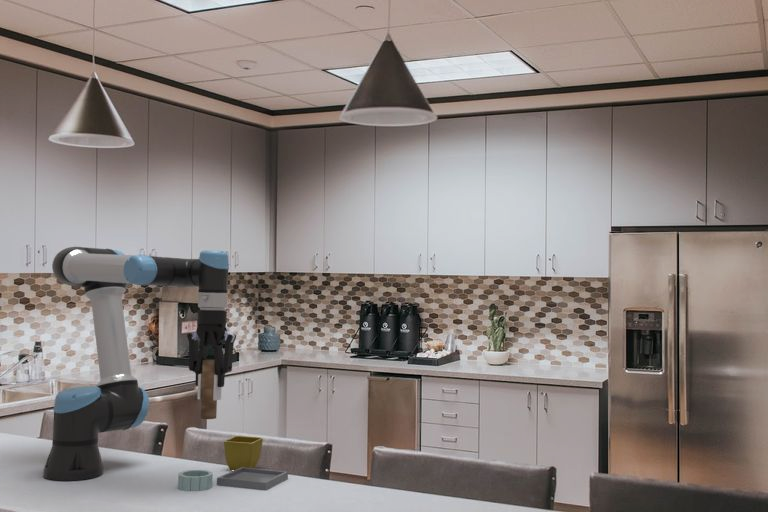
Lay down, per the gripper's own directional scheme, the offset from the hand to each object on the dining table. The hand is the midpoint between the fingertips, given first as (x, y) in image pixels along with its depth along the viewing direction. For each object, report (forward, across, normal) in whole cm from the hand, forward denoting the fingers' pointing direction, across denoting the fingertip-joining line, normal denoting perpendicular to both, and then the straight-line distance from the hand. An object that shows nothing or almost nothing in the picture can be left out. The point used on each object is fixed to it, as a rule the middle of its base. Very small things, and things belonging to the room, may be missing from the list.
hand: (209, 399), depth 201 cm
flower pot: (+23, -2, +23) cm, 33 cm away
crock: (+23, -2, -2) cm, 23 cm away
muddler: (+5, 0, 0) cm, 5 cm away
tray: (+23, +8, +10) cm, 26 cm away
